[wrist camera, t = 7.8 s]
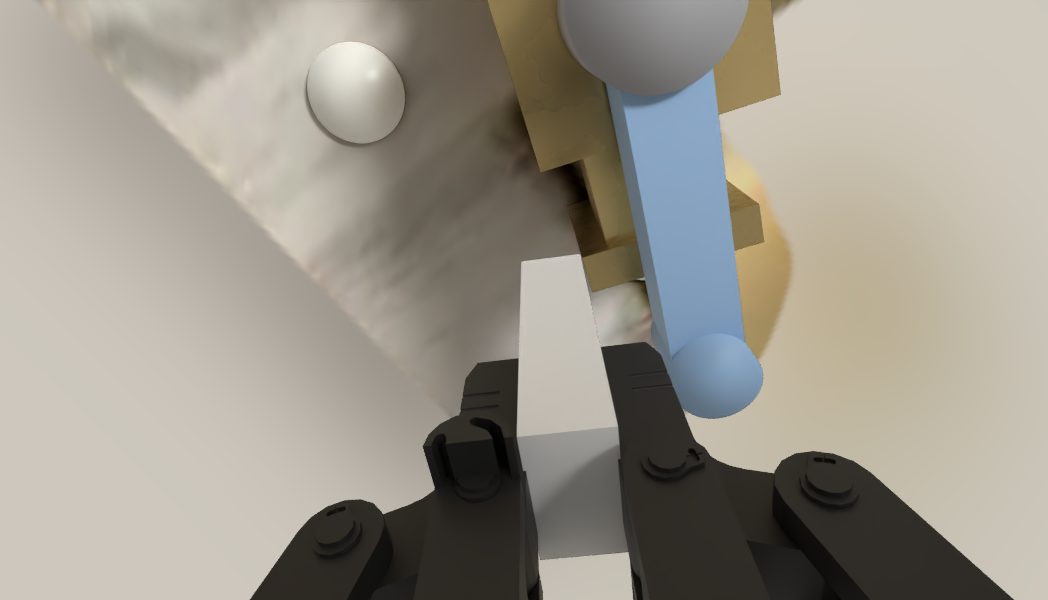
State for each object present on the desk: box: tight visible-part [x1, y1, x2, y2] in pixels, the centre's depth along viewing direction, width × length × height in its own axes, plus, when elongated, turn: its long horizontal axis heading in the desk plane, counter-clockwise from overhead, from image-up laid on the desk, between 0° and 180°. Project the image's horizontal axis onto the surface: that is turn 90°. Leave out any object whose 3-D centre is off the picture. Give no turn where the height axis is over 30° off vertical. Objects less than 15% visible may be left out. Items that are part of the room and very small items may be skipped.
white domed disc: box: [307, 42, 405, 143], centre depth 26 cm, size 4×4×1 cm
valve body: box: [487, 0, 781, 292], centre depth 20 cm, size 20×8×9 cm, turn 18°
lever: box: [557, 0, 763, 419], centre depth 17 cm, size 15×4×4 cm, turn 16°
